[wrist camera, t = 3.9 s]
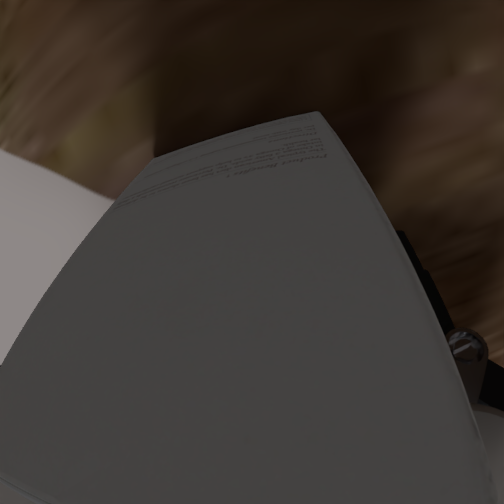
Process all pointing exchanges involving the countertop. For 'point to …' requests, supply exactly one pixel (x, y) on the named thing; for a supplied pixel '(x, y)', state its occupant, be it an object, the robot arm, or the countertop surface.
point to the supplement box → (240, 345)
